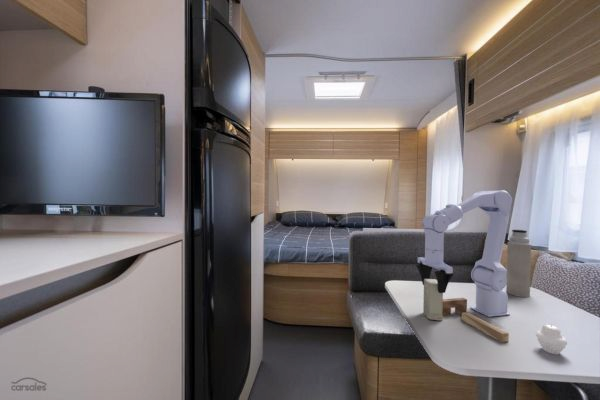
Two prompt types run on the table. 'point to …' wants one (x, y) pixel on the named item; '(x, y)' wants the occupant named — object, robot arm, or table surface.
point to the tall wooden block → (454, 306)
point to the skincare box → (432, 300)
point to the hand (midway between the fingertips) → (433, 288)
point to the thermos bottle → (518, 264)
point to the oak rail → (486, 327)
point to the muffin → (551, 339)
